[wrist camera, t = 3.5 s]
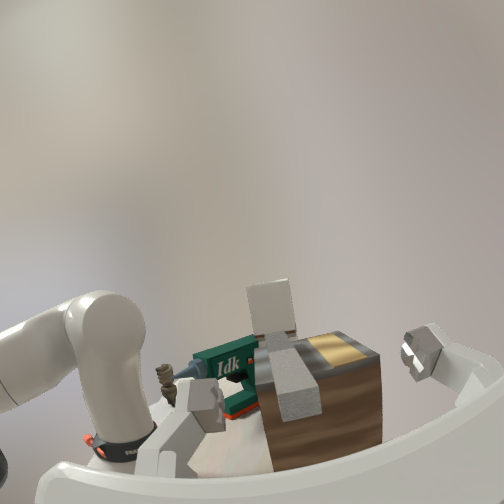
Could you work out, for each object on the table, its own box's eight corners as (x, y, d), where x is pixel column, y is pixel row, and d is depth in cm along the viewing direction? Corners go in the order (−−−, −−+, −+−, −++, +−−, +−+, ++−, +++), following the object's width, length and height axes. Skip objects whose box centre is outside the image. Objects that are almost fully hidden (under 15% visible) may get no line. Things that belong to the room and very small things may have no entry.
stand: (377, 498, 24) (379, 352, 27) (286, 523, 24) (254, 383, 26) (349, 450, 40) (338, 329, 43) (278, 467, 40) (254, 347, 42)
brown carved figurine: (181, 401, 81) (170, 361, 82) (183, 407, 76) (171, 365, 77) (165, 404, 79) (154, 363, 80) (166, 410, 74) (154, 368, 75)
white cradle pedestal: (303, 382, 82) (288, 278, 85) (304, 396, 72) (287, 280, 74) (269, 386, 84) (252, 284, 86) (266, 400, 73) (246, 287, 76)
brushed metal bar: (321, 413, 18) (318, 385, 18) (282, 422, 17) (277, 394, 18) (286, 345, 40) (283, 330, 41) (267, 349, 40) (264, 334, 41)
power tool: (190, 440, 54) (172, 370, 55) (176, 430, 59) (159, 363, 60) (277, 395, 76) (270, 335, 77) (261, 390, 81) (253, 333, 82)
